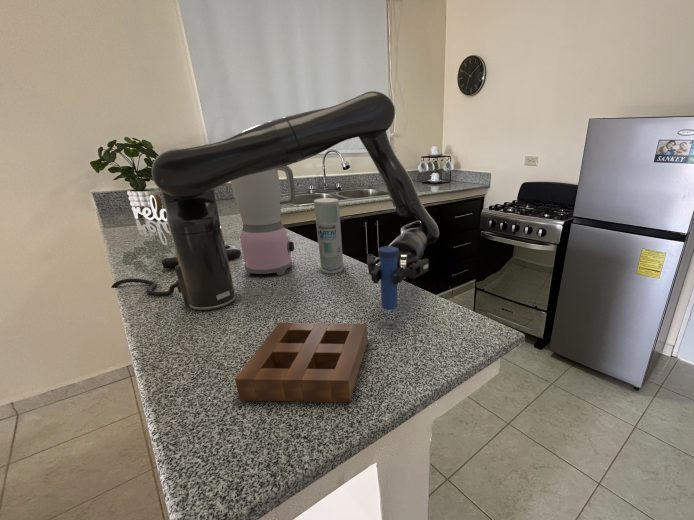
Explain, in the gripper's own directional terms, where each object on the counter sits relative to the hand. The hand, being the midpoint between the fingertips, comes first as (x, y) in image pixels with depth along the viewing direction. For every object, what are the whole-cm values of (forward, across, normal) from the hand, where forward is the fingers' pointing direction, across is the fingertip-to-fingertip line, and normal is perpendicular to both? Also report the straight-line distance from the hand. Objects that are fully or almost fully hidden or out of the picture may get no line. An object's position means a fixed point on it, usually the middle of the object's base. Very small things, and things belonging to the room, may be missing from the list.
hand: (384, 279), depth 65 cm
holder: (+13, -9, +12) cm, 20 cm away
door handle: (-31, -68, +12) cm, 75 cm away
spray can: (-31, -25, +12) cm, 42 cm away
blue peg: (-3, 0, +7) cm, 8 cm away
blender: (-27, -41, +12) cm, 50 cm away
